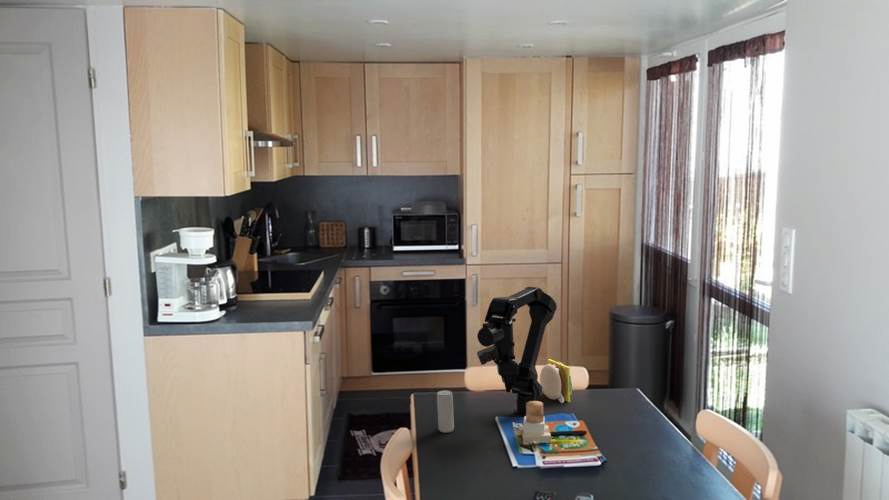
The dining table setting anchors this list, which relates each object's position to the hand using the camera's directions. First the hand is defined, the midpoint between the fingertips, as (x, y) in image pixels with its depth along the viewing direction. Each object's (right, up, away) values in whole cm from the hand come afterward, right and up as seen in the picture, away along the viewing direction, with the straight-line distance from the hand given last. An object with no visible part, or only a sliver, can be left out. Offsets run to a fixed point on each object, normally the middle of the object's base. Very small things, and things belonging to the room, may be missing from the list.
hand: (506, 387), depth 220 cm
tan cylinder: (+7, -8, -11) cm, 16 cm away
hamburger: (+19, -8, +23) cm, 31 cm away
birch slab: (+8, -14, -11) cm, 19 cm away
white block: (+7, -10, -11) cm, 17 cm away
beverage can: (-19, -13, -1) cm, 23 cm away
